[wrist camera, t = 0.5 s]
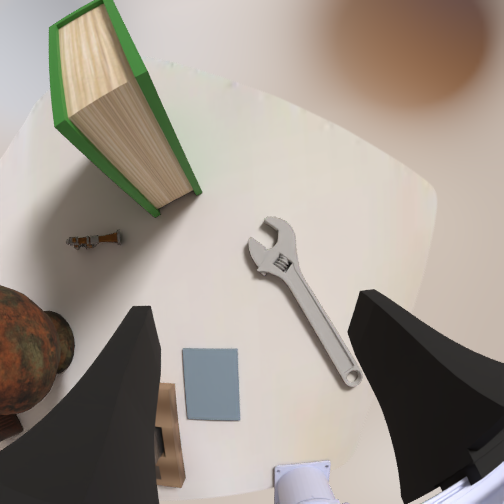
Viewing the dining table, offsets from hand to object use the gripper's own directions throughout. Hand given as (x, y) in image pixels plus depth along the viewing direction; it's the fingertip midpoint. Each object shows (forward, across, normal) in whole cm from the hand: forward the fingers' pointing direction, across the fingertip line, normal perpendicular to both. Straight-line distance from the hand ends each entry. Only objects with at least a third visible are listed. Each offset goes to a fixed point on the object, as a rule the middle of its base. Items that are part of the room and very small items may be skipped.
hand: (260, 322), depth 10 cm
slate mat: (+15, +2, +26) cm, 30 cm away
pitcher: (+21, +30, +25) cm, 44 cm away
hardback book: (+37, +9, +1) cm, 38 cm away
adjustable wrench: (+20, -10, +18) cm, 29 cm away
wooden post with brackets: (+30, +17, +12) cm, 36 cm away
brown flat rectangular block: (+12, +12, +32) cm, 36 cm away
